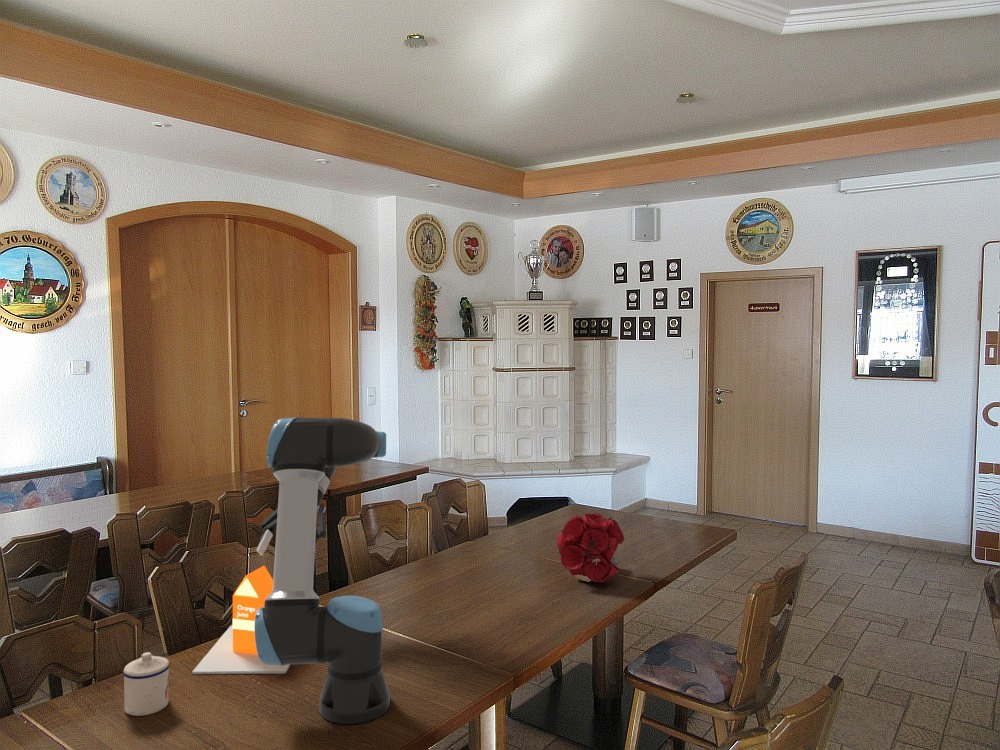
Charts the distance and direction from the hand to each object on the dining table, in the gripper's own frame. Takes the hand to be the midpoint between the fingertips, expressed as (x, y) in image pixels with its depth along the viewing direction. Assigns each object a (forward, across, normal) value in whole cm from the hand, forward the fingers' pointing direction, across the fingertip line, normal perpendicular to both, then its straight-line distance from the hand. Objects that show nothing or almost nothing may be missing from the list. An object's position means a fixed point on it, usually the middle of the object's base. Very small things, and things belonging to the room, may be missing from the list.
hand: (280, 555), depth 193 cm
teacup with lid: (+45, +5, +14) cm, 48 cm away
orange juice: (+22, 0, -8) cm, 23 cm away
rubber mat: (+22, 0, -8) cm, 24 cm away
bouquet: (-38, -72, -69) cm, 107 cm away
